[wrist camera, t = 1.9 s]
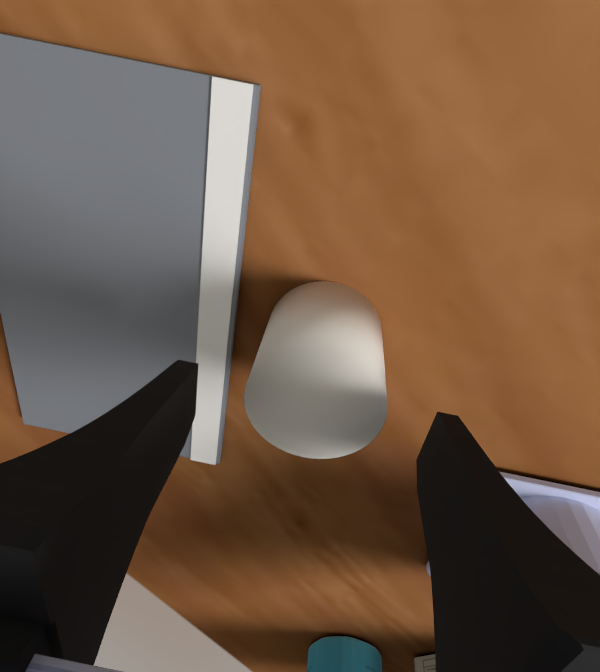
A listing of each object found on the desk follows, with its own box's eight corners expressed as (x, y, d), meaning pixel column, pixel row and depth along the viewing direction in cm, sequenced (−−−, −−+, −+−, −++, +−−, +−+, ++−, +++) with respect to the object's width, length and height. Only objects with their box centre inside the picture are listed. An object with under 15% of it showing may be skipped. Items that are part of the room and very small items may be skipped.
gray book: (260, 85, 14) (257, 85, 13) (220, 457, 22) (218, 465, 22) (-51, 22, 14) (-64, 21, 13) (28, 418, 22) (22, 425, 22)
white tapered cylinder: (395, 294, 17) (405, 363, 13) (365, 387, 19) (367, 470, 15) (277, 270, 17) (252, 332, 13) (262, 366, 19) (237, 443, 15)
